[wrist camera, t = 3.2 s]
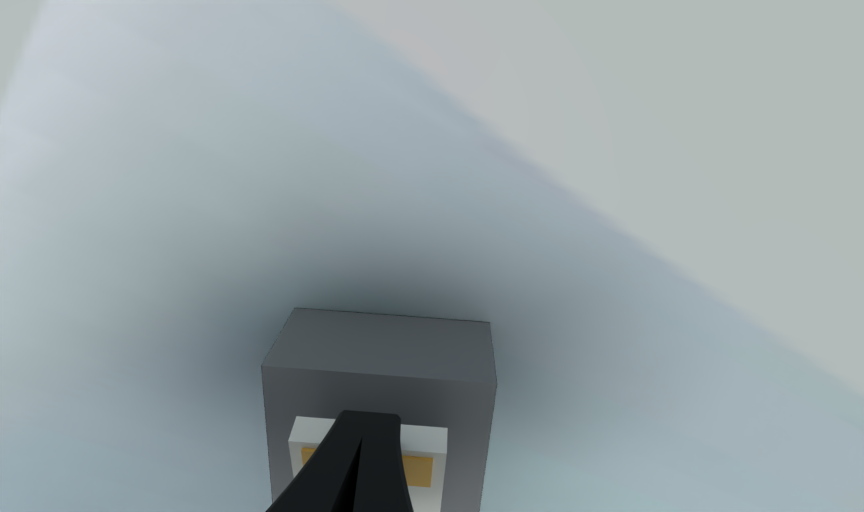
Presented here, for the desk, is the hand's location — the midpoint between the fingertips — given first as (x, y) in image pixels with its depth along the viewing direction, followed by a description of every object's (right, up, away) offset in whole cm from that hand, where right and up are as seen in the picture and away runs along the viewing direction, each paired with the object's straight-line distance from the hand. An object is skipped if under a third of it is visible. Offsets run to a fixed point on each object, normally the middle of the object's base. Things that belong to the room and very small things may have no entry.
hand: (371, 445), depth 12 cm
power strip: (0, -4, +7) cm, 8 cm away
